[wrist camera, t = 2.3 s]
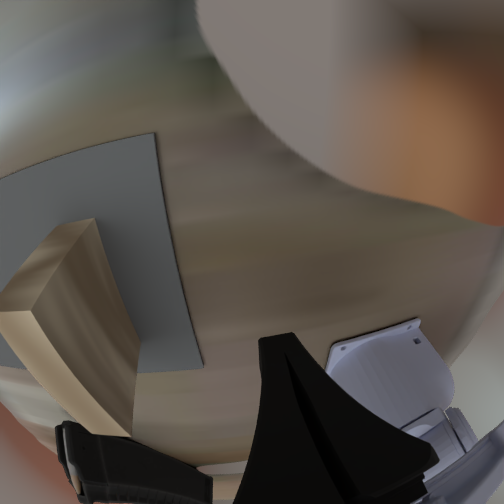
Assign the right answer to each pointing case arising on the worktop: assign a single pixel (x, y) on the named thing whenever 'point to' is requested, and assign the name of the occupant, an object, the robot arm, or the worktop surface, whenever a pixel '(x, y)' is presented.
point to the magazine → (126, 470)
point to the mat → (107, 238)
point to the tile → (74, 328)
